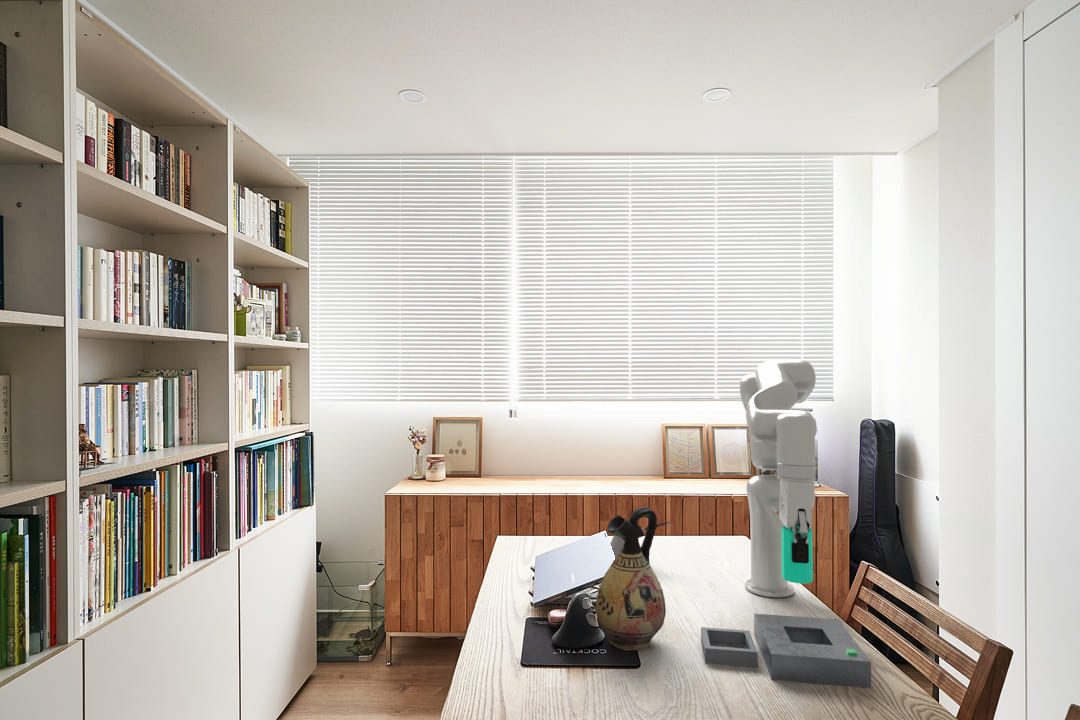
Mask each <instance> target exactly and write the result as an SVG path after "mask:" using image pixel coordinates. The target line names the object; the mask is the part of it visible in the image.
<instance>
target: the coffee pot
mask: <svg viewBox="0 0 1080 720" xmlns="http://www.w3.org/2000/svg"><path fill="white" fill-rule="evenodd" d="M624 519H625V520H627V521H629V519H630V518H629V519H627V518H624ZM664 525H666V526H667V528H668V529H671V528H672V525H671V522H669V521H668V520H666V521H664V522H662V521H660V522H659V523H658V522H657V527H656V529H657V528H660V527H663V526H664ZM641 529H642V530H643V532H644V531H646V530H647V526H645V527H643V528H641ZM624 543H625V541H624V540H623V539H622V538H621V537H618V536H615V535H613V537H612V539H611V541H610V543H609V545H610V544H611V545H612V550H613V552H614V555H615V559H616V557H617V556H618V555H619V554H620V552H621V550H622V549H623V546H624ZM639 545H640V548H641V546H642V545H641V544H640V543H639Z"/></svg>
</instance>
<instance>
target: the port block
mask: <svg viewBox="0 0 1080 720" xmlns="http://www.w3.org/2000/svg"><path fill="white" fill-rule="evenodd" d="M753 621H754V622H753V629H754V631H753V633H754V635H753V636H754V639H755V640H756V644H757V646H758V649H759V651H760V653H761V656H762V658H763V661H764V663H765V664H764V665H765V666H766V669H767V671H768V674H769V676H770V678H771V680H772V681H783V682H794V683H808V684H818V685H828V686H829V685H830V686H840V687H852V688H862V689H863V688H864V689H865V688H867V689H872V661H871V660H870V659H869V657H868V656H867V654H866V653H865V652H864V651H863V649H862V648H861V647H860V645H859V644H858V642H857V641H856V640H855V639H854V638H853V636H852V634H850V632H849V631H848V629H847V628H846V627H845V626H844V624H843V623H842V622H841V621H840V619H839V618H827V617H825V618H824V617H810V616H799V615H797V616H794V615H783V614H781V615H780V614H767V613H765V614H764V613H753Z"/></svg>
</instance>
